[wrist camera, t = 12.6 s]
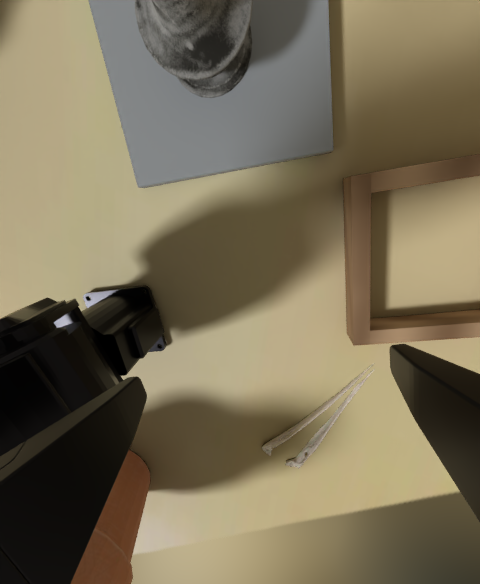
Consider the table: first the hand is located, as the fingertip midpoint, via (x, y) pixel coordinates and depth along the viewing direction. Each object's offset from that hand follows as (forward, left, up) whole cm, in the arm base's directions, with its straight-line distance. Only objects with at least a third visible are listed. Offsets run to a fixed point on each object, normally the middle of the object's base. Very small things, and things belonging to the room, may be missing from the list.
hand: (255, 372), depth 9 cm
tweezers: (+4, -14, -14) cm, 20 cm away
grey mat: (-1, +15, -13) cm, 20 cm away
